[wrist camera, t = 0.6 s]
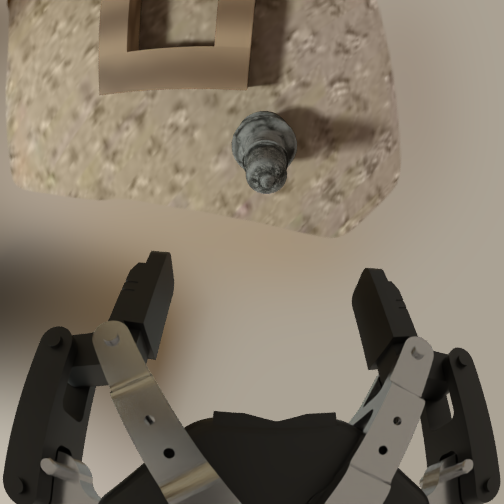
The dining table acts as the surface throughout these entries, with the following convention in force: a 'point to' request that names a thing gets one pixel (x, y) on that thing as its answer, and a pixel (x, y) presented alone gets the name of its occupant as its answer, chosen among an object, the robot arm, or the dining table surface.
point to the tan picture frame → (173, 52)
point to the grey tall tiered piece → (264, 150)
